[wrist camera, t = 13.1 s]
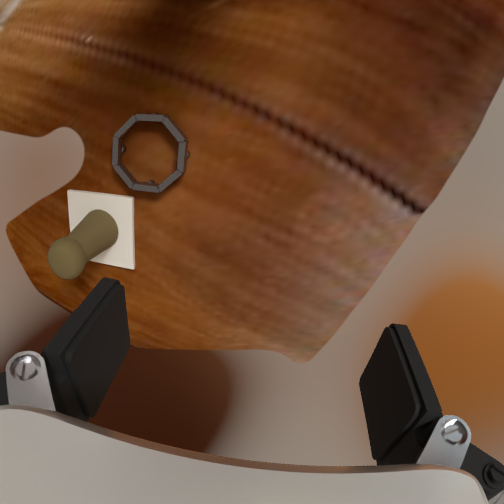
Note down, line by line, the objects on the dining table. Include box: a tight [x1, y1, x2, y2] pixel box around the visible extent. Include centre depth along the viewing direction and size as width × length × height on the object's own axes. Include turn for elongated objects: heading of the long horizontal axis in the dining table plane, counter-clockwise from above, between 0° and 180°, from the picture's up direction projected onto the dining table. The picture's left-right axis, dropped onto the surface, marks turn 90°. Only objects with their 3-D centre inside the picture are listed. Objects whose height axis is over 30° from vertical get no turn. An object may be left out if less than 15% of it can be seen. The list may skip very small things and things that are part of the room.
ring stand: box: [112, 113, 190, 193], centre depth 37 cm, size 10×10×2 cm
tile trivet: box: [67, 189, 135, 270], centre depth 43 cm, size 11×11×1 cm
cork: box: [48, 209, 119, 279], centre depth 38 cm, size 6×6×11 cm
